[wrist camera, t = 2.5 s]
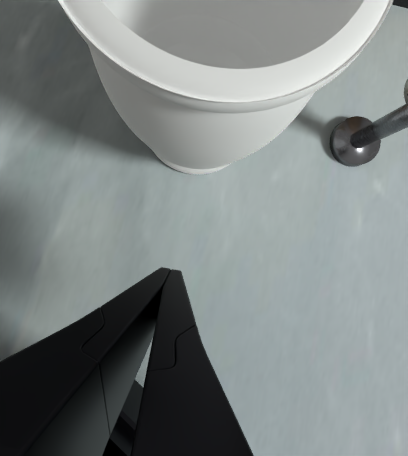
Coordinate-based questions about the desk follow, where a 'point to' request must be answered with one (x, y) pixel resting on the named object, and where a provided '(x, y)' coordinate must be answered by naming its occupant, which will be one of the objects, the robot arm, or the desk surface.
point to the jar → (218, 67)
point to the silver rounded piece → (366, 135)
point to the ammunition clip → (401, 3)
